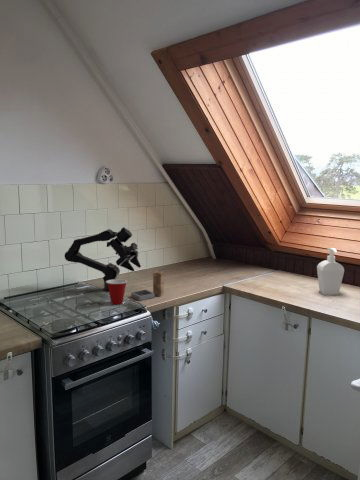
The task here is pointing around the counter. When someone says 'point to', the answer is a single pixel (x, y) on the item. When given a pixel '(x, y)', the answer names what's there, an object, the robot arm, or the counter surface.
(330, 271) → the soap bottle
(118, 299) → the plastic cup
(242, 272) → the counter surface
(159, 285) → the walnut block
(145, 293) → the tray
